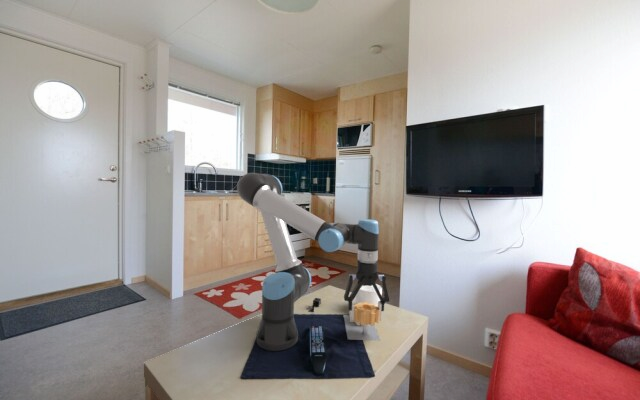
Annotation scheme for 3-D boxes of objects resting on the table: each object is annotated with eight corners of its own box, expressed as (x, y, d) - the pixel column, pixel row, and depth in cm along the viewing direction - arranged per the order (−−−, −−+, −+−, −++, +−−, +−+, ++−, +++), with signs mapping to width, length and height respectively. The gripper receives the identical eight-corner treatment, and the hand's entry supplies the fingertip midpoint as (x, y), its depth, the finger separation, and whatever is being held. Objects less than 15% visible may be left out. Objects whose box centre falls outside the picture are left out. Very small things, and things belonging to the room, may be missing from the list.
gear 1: (350, 325, 108) (351, 313, 108) (348, 314, 118) (348, 303, 118) (374, 326, 108) (375, 313, 108) (370, 314, 118) (370, 303, 118)
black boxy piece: (313, 302, 134) (313, 293, 134) (327, 305, 132) (328, 295, 132) (305, 313, 122) (305, 303, 122) (320, 316, 120) (321, 306, 120)
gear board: (347, 343, 98) (348, 323, 98) (343, 318, 117) (343, 301, 117) (380, 344, 98) (381, 324, 98) (370, 319, 117) (371, 302, 117)
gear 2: (354, 325, 97) (355, 311, 97) (351, 313, 107) (352, 301, 107) (381, 326, 97) (381, 312, 97) (375, 314, 107) (376, 301, 107)
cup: (379, 307, 129) (380, 283, 129) (382, 319, 118) (383, 292, 117) (354, 305, 130) (355, 281, 130) (355, 317, 119) (356, 290, 118)
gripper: (338, 262, 98) (337, 322, 99) (399, 264, 98) (397, 324, 99) (337, 257, 105) (335, 313, 106) (394, 258, 105) (392, 314, 106)
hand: (365, 318), depth 102 cm, fingers closed on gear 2, 10 cm apart
